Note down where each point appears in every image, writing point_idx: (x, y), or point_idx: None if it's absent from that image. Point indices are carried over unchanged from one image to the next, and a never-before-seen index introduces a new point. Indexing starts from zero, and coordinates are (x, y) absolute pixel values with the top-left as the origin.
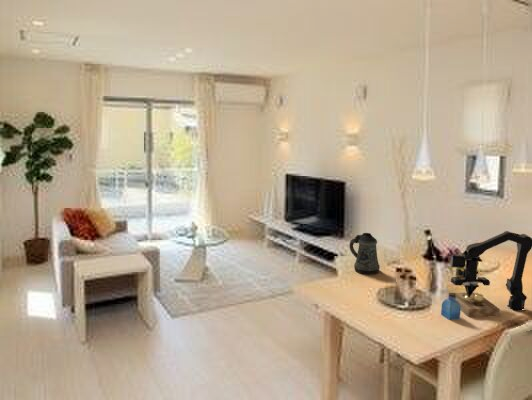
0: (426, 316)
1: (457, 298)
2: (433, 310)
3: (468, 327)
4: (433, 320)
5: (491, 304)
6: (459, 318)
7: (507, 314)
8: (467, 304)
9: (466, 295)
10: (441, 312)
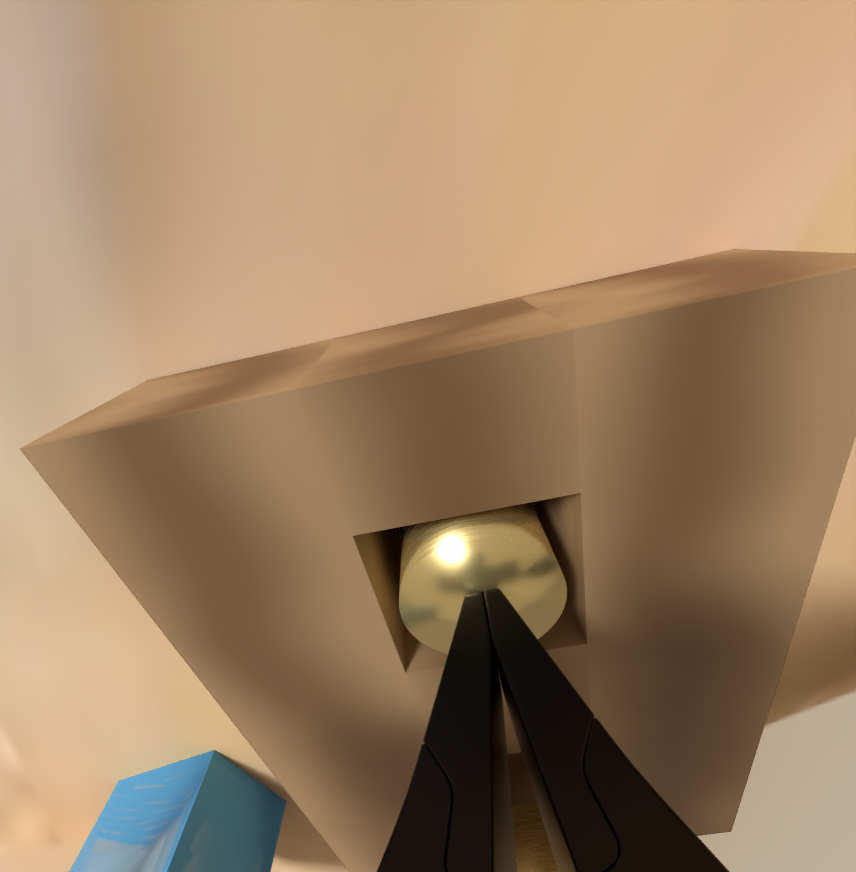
0: (4, 820)
1: (243, 695)
2: (25, 733)
3: (332, 869)
4: (79, 849)
5: (719, 765)
6: (283, 804)
7: (806, 672)
8: (369, 813)
9: (452, 566)
10: (105, 814)
